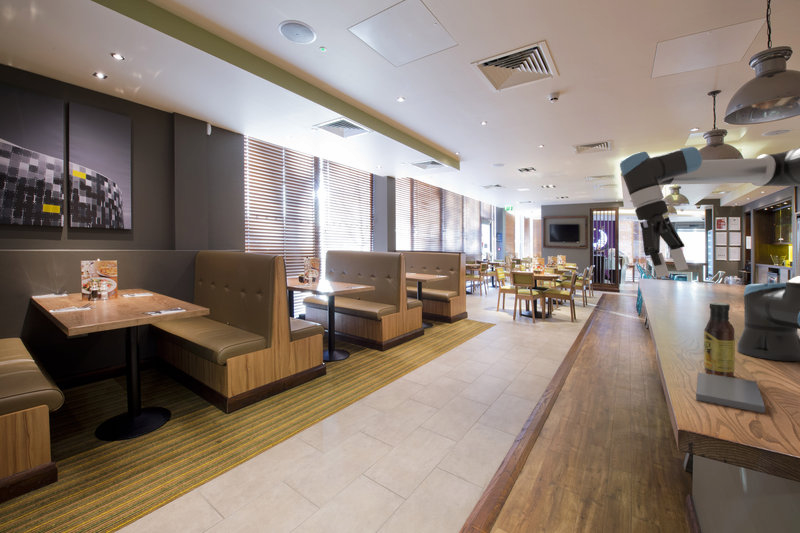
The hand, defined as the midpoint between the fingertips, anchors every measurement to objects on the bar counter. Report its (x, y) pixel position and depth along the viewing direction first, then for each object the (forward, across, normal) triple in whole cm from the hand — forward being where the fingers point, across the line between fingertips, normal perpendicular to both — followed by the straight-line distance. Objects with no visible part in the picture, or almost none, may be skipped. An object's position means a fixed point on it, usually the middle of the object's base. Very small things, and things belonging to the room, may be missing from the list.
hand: (673, 273), depth 99 cm
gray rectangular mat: (+30, +13, +7) cm, 33 cm away
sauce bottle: (+30, -2, +1) cm, 30 cm away
